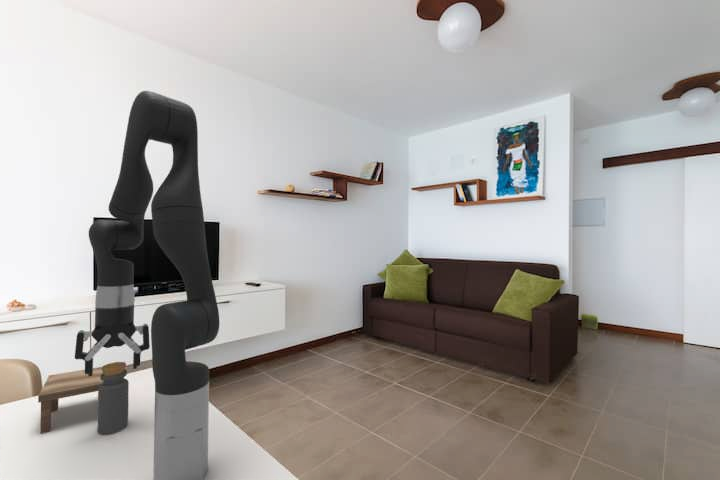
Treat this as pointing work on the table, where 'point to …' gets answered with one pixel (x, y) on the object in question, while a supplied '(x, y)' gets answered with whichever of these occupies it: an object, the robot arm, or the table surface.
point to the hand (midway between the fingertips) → (113, 371)
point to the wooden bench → (65, 391)
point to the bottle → (113, 399)
